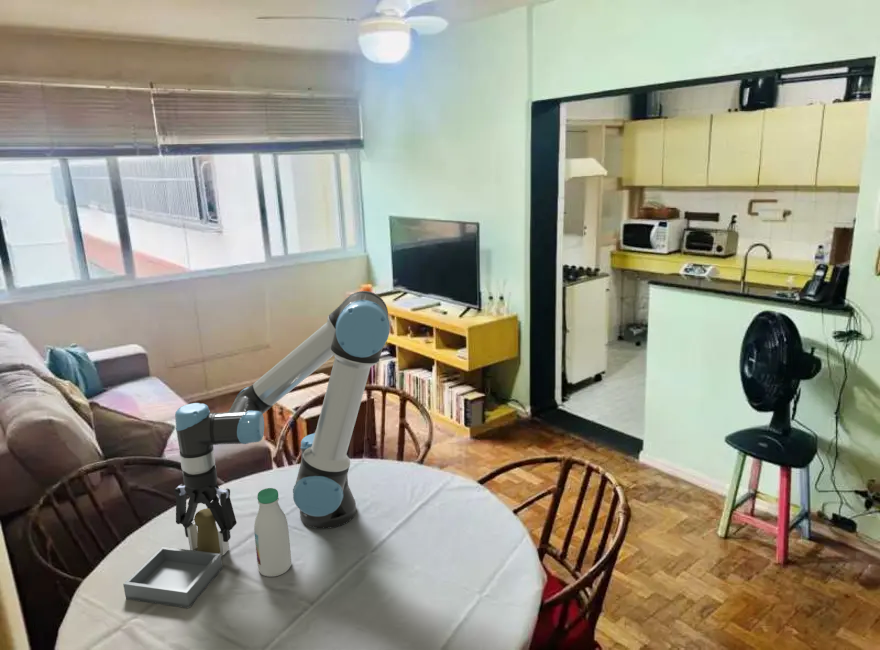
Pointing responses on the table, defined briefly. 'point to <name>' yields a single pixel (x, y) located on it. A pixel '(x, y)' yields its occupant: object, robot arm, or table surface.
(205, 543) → the cork
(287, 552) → the milk bottle
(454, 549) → the table surface
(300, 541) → the table surface
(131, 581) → the tray
